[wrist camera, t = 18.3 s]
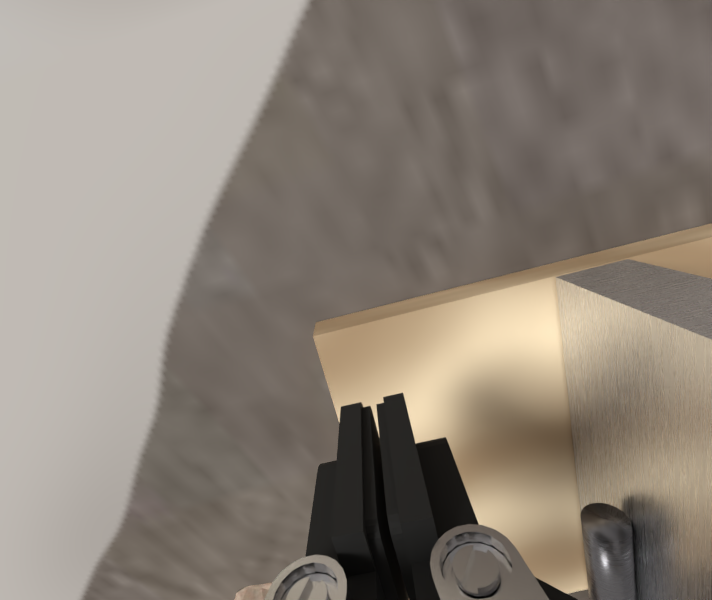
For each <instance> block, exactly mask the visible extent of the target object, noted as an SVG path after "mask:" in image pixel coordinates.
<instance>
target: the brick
mask: <svg viewBox="0 0 712 600" xmlns="http://www.w3.org/2000/svg"><path fill="white" fill-rule="evenodd" d="M271 584H272V583H266V584H262V585H252V586H247V587H245V588H243V589H241V590H240V591H238V592H237V593H236V598H235V600H264V599H265V597H266V595H267V593H268V591H269V589H270V586H271Z"/></svg>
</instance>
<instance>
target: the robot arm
mask: <svg viewBox="0 0 712 600" xmlns="http://www.w3.org/2000/svg"><path fill="white" fill-rule="evenodd" d="M383 401H384V403H380V404H376V406H377V417H378V427H379V434H378V431H377V427H376V423H375V420H374V416H373V412H372V409H371V406H367V407H363V404H362V402H359V403H355V404H350V405H346V406H342V407H341V410H340V424H339V437H338V451H337V461H332V462H328V463H323V464H320V465H319V467H318V472H317V479H316V486H315V493H314V501H313V508H312V515H311V522H310V529H309V536H308V543H307V550H306V557H303V558H301V559H299V560H297V561H295V562H293V563H291V564H290V565H289V566H288V567H287V568H285V569H284V570H283V571H282V572H281V573H280V574H279V575H278V576H277V578H276V579H275V580H274V581H273V583H272V584H271V586H270V589H269V591H268V593H267V595H266V597H265V599H264V600H577V599H575V598H573V597H572V596H570V595H568V594H566V593H564V592H562V591H560V590H559V589H557V588H555V587H553V586H551V585H549V584H547V583H546V582H544V581H542V580H540V579H538V578H536V577H534V575H533V574H532V572H531V570H530V569H529V567H528V566H527V564H526V563H525V561H524V560H523V558H522V556H521V555H520V553H519V552H518V550H517V549H516V547H515V546H514V545H513V544H512V543H511V542H510V540H509V539H508V538H507V537H506V536H504V535H503V534H501V533H500V532H498V531H497V530H495V529H492V528H489V527H487V526H484V525H479V524H478V521H477V518H476V516H475V513H474V510H473V508H472V505H471V502H470V500H469V497H468V494H467V492H466V489H465V486H464V484H463V481H462V478H461V476H460V473H459V470H458V468H457V465H456V462H455V460H454V457H453V454H452V452H451V449H450V446H449V444H448V441H447V439H446V437H443V438H439V439H434V440H430V441H425V442H420V443H415V439H414V435H413V431H412V427H411V423H410V419H409V415H408V411H407V407H406V402H405V398H404V394H403V393H399V394H394V395H390V396H386V397H383ZM379 437H380V438H379Z"/></svg>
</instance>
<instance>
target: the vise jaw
mask: <svg viewBox="0 0 712 600" xmlns="http://www.w3.org/2000/svg"><path fill="white" fill-rule="evenodd" d="M556 287H557V296H558V306H559V315H560V325H561V334H562V343H563V353H564V362H565V372H566V381H567V390H568V400H569V409H570V419H571V428H572V438H573V447H574V456H575V466H576V475H577V485H578V494H579V504H580V513H581V515H580V516H581V525H582V535H583V544H584V554H585V563H586V572H587V582H588V591H589V600H712V279H711V278H707V277H702V276H698V275H694V274H690V273H685V272H681V271H677V270H672V269H668V268H664V267H660V266H655V265H651V264H647V263H643V262H638V261H634V260H630V259H626V260H622V261H618V262H614V263H610V264H606V265H602V266H598V267H594V268H590V269H586V270H582V271H578V272H574V273H570V274H566V275H562V276H558V277H556Z"/></svg>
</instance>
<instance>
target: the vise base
mask: <svg viewBox="0 0 712 600" xmlns="http://www.w3.org/2000/svg"><path fill="white" fill-rule="evenodd" d="M626 259H630V260H634V261H638V262H643V263H647V264H651V265H655V266H660V267H664V268H668V269H672V270H677V271H681V272H685V273H690V274H694V275H698V276H702V277H707V278H711V279H712V223H711V224H707V225H703V226H699V227H695V228H691V229H687V230H683V231H679V232H675V233H671V234H667V235H663V236H659V237H655V238H651V239H647V240H643V241H639V242H635V243H631V244H627V245H623V246H619V247H615V248H611V249H607V250H603V251H599V252H595V253H591V254H587V255H583V256H579V257H575V258H571V259H567V260H563V261H559V262H555V263H551V264H547V265H543V266H539V267H535V268H531V269H527V270H523V271H519V272H515V273H511V274H507V275H503V276H499V277H495V278H491V279H487V280H483V281H479V282H475V283H471V284H467V285H463V286H459V287H455V288H451V289H447V290H444V291H440V292H436V293H432V294H428V295H424V296H420V297H416V298H412V299H408V300H404V301H400V302H396V303H392V304H388V305H384V306H380V307H376V308H372V309H368V310H364V311H360V312H356V313H352V314H348V315H344V316H340V317H336V318H332V319H328V320H324V321H320V322H316V325H315V330H314V334H313V338H314V341H315V344H316V348H317V351H318V354H319V357H320V361H321V364H322V367H323V371H324V374H325V377H326V380H327V384H328V387H329V390H330V394H331V397H332V400H333V403H334V407H335V410H336V413H337V417H338V420H339V423H340V410H341V407H342V406H346V405H350V404H355V403H359V402H362V404H363V407H367V406H371V409H372V412H373V416H374V420H375V423H376V427H377V431H378V434H379V427H378V417H377V406H376V404H380V403H384V401H383V397H386V396H390V395H394V394H399V393H403V394H404V398H405V402H406V407H407V411H408V415H409V419H410V423H411V427H412V431H413V435H414V439H415V443H420V442H425V441H430V440H434V439H439V438H443V437H446V439H447V441H448V444H449V446H450V449H451V452H452V454H453V457H454V460H455V462H456V465H457V468H458V470H459V473H460V476H461V478H462V481H463V484H464V486H465V489H466V492H467V494H468V497H469V500H470V502H471V505H472V508H473V510H474V513H475V516H476V518H477V521H478V524H479V525H484V526H487V527H489V528H492V529H495V530H497V531H498V532H500V533H501V534H503V535H504V536H506V537H507V538H508V539H509V540H510V542H511V543H512V544H513V545H514V546H515V547H516V549H517V550H518V552H519V553H520V555H521V556H522V558H523V560H524V561H525V563H526V564H527V566H528V567H529V569H530V570H531V572H532V574H533V575H534V577H536V578H538V579H540V580H542V581H544V582H546V583H547V584H549V585H551V586H553V587H555V588H557V589H559V590H560V591H562V592H564V593H566V594H567V593H572V592H577V591H581V590H586V589H588V582H587V572H586V563H585V554H584V544H583V535H582V525H581V516H580V515H581V513H580V504H579V494H578V485H577V475H576V466H575V456H574V447H573V438H572V428H571V419H570V409H569V400H568V390H567V381H566V372H565V362H564V353H563V343H562V334H561V325H560V315H559V306H558V296H557V287H556V277H558V276H562V275H566V274H570V273H574V272H578V271H582V270H586V269H590V268H594V267H598V266H602V265H606V264H610V263H614V262H618V261H622V260H626ZM379 438H380V437H379Z"/></svg>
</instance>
